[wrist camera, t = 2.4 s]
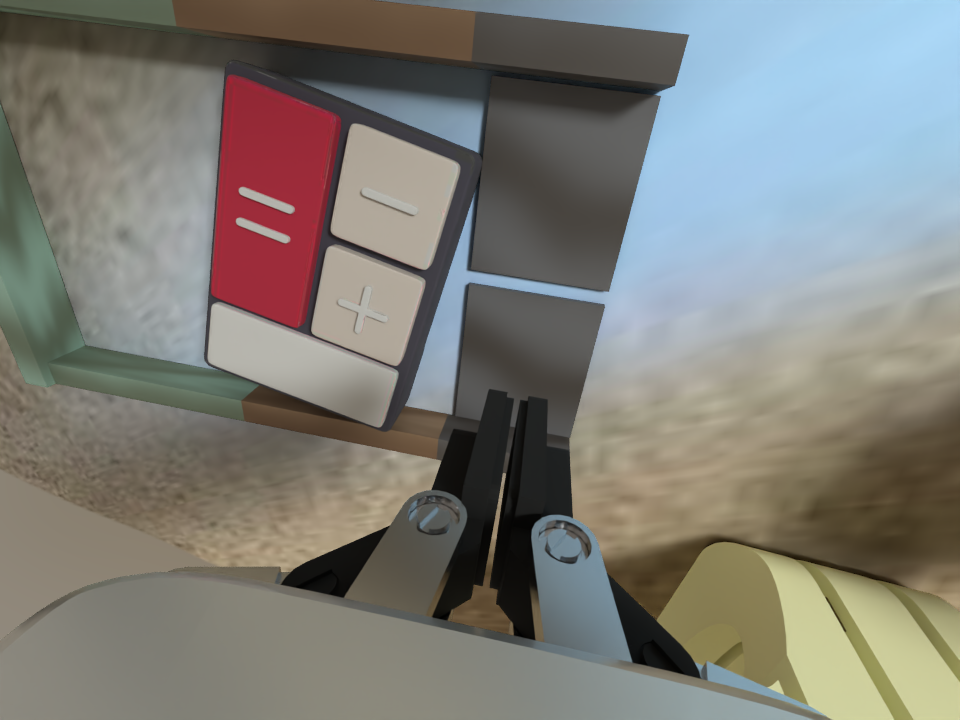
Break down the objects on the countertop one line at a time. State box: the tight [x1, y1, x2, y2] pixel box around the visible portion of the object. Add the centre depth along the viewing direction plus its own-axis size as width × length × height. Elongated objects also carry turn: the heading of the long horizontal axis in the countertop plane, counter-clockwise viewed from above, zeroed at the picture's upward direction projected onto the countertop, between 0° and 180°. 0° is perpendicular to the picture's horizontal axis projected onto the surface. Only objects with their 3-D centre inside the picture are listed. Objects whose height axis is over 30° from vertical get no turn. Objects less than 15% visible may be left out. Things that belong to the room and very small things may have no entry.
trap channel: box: [0, 0, 689, 473], centre depth 23 cm, size 21×34×3 cm, turn 83°
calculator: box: [204, 60, 483, 432], centre depth 22 cm, size 11×4×15 cm
